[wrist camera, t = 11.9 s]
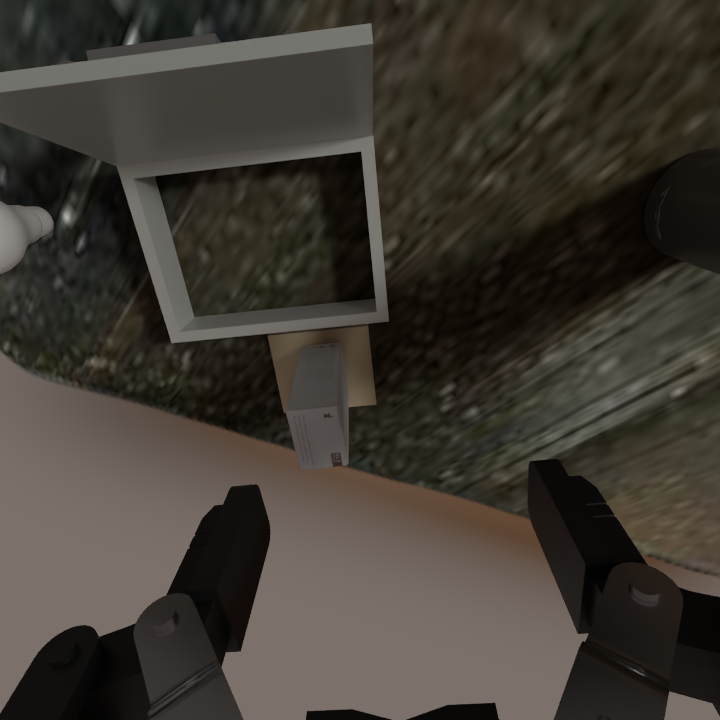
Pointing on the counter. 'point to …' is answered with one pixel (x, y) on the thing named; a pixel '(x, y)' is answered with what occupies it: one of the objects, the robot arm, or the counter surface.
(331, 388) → the skincare box
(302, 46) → the lid
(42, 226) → the lightbulb
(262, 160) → the case
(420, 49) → the counter surface
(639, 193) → the counter surface
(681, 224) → the robot arm
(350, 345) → the mat
